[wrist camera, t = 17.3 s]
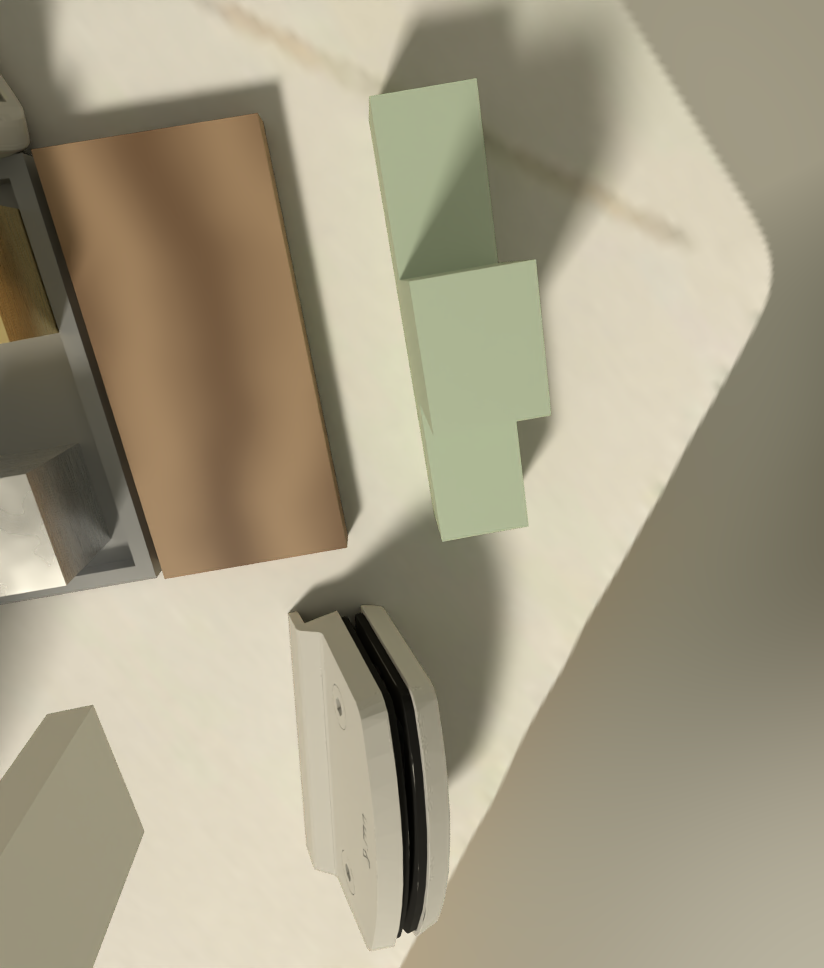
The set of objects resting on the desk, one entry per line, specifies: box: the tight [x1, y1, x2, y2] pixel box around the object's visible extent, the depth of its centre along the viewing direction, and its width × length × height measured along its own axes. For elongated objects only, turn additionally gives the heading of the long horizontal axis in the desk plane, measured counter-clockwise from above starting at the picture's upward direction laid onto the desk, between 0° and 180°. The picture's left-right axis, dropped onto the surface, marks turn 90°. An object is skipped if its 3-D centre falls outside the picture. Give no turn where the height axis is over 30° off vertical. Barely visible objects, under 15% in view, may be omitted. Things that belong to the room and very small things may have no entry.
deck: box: [31, 113, 348, 579], centre depth 29 cm, size 9×19×2 cm, turn 9°
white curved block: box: [288, 605, 450, 951], centre depth 33 cm, size 17×5×10 cm, turn 0°
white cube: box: [0, 443, 111, 597], centre depth 29 cm, size 5×5×5 cm
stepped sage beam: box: [369, 78, 551, 542], centre depth 25 cm, size 4×18×10 cm, turn 9°
